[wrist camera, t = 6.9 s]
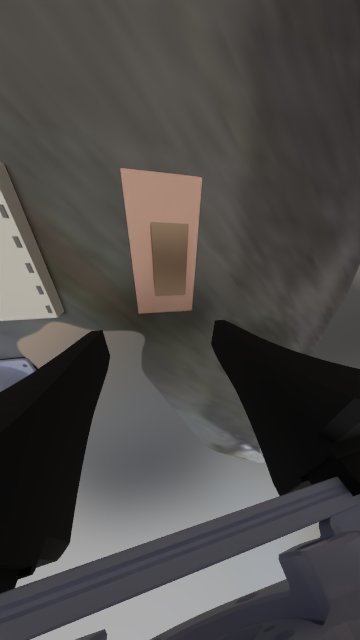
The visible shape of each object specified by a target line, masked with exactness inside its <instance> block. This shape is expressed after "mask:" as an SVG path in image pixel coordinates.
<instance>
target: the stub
mask: <svg viewBox="0 0 360 640" xmlns="http://www.w3.org/2000/svg"><path fill="white" fill-rule="evenodd" d="M120 170H121V178H122V185H123V193H124V201H125V209H126V217H127V225H128V233H129V240H130V248H131V256H132V264H133V272H134V280H135V288H136V295H137V303H138V311H139V314H140V313H157V312H174V311H191V310H192V302H193V289H194V276H195V263H196V250H197V237H198V225H199V212H200V199H201V186H202V177H195V176H186V175H177V174H169V173H160V172H151V171H142V170H133V169H124V168H120Z"/></svg>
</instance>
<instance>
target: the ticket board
mask: <svg viewBox="0 0 360 640" xmlns="http://www.w3.org/2000/svg"><path fill="white" fill-rule="evenodd" d="M63 312H64V309H63V306H62V304H61V301H60V299H59V296H58V294H57V291H56V289H55V287H54V284H53V282H52V279H51V277H50V274H49V272H48V270H47V267H46V265H45V262H44V260H43V257H42V255H41V252H40V250H39V248H38V245H37V243H36V240H35V238H34V235H33V233H32V231H31V228H30V226H29V223H28V221H27V218H26V216H25V214H24V211H23V209H22V206H21V204H20V201H19V199H18V196H17V194H16V192H15V189H14V187H13V184H12V182H11V179H10V177H9V175H8V172H7V170H6V167H5V165H4V164H3V163H1V162H0V321H6V320H23V319H41V318H58V317H59V316H60V315H61V314H62V313H63Z"/></svg>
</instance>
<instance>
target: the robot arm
mask: <svg viewBox="0 0 360 640" xmlns="http://www.w3.org/2000/svg"><path fill="white" fill-rule="evenodd" d="M211 345H212V347H213V350H214V352H215V355H216V357H217V359H218V360H219V362H220V364H221V366H222V367H223V369H224V371H225V372H226V374H227V376H228V377H229V379H230V381H231V382H232V384H233V386H234V388H235V390H236V392H237V394H238V396H239V398H240V400H241V402H242V405H243V407H244V409H245V411H246V414H247V416H248V418H249V421H250V423H251V425H252V428H253V430H254V433H255V435H256V438H257V440H258V443H259V445H260V448H261V451H262V453H263V456H264V459H265V462H266V464H267V467H268V470H269V473H270V475H271V478H272V481H273V483H274V486H275V487H276V489H277V491H278V493H279V495H280V496H279V497H277V498H274V499H271V500H268V501H265V502H262V503H259V504H256V505H253V506H251V507H248V508H245V509H242V510H239V511H236V512H233V513H231V514H227V515H225V516H222V517H219V518H216V519H213V520H211V521H207V522H205V523H202V524H199V525H196V526H193V527H190V528H187V529H184V530H181V531H179V532H176V533H173V534H170V535H167V536H164V537H161V538H158V539H156V540H153V541H150V542H147V543H144V544H141V545H138V546H135V547H133V548H130V549H127V550H125V551H121V552H119V553H115V554H112V555H110V556H107V557H104V558H101V559H98V560H95V561H92V562H89V563H87V564H84V565H81V566H78V567H75V568H72V569H69V570H66V571H64V572H61V573H58V574H55V575H52V576H50V577H46V578H44V579H41V580H38V581H35V582H32V583H29V584H26V585H23V586H20V587H17V588H15V586H16V583H17V580H18V579H21V578H24V577H27V576H30V575H32V574H33V572H34V571H35V569H36V568H37V567H40V566H43V565H46V564H49V563H52V562H55V561H57V560H58V559H59V558H60V557H61V555H62V554H63V552H64V551H65V550H66V548H67V546H68V545H69V543H70V538H71V531H72V524H73V517H74V511H75V505H76V498H77V493H78V486H79V481H80V476H81V470H82V464H83V460H84V454H85V450H86V445H87V439H88V435H89V431H90V426H91V422H92V418H93V414H94V411H95V407H96V404H97V401H98V398H99V395H100V392H101V389H102V386H103V383H104V380H105V376H106V373H107V370H108V365H109V359H110V354H109V351H108V347H107V344H106V341H105V337H104V334H103V331H102V330H100V331H91V332H89V333H88V334H86V335H85V336H84V337H82V338H81V339H80V340H78V341H77V342H76V343H74V344H73V345H72V346H70V347H69V348H68V349H66V350H65V351H64V352H62V353H61V354H59V355H58V356H56V357H55V358H54V359H52V360H51V361H49V362H48V363H47V364H45V365H43V366H42V367H40V368H39V369H37V370H36V369H35V368H34V366H33V365H32V363H31V362H30V360H29V359H27V358H19V359H8V360H0V640H30V639H32V638H35V637H37V636H40V635H42V634H45V633H47V632H50V631H52V630H54V629H57V628H59V627H62V626H64V625H66V624H69V623H72V622H74V621H76V620H79V619H81V618H84V617H86V616H89V615H91V614H94V613H96V612H99V611H101V610H104V609H106V608H108V607H111V606H113V605H116V604H118V603H121V602H123V601H126V600H128V599H131V598H133V597H135V596H138V595H140V594H143V593H145V592H148V591H150V590H153V589H155V588H158V587H160V586H162V585H165V584H167V583H170V582H172V581H175V580H177V579H180V578H182V577H185V576H187V575H189V574H192V573H194V572H197V571H199V570H202V569H204V568H207V567H209V566H212V565H214V564H217V563H219V562H221V561H224V560H226V559H229V558H231V557H234V556H236V555H239V554H241V553H244V552H246V551H248V550H251V549H253V548H255V547H258V546H261V545H263V544H265V543H268V542H271V541H273V540H275V539H278V538H280V537H283V536H285V535H288V534H290V533H293V532H295V531H297V530H300V529H302V528H305V527H307V526H310V525H312V524H314V523H317V522H319V529H320V534H321V536H320V538H318V539H314V540H311V541H308V542H304V543H302V544H299V545H297V546H294V547H292V548H290V549H289V550H287V551H285V552H283V553H281V554H279V561H280V564H281V566H282V568H283V571H284V573H285V576H286V578H287V579H286V580H283V581H281V582H278V583H276V584H273V585H270V586H268V587H265V588H263V589H261V590H258V591H256V592H253V593H251V594H248V595H245V596H243V597H240V598H238V599H235V600H233V601H230V602H228V603H225V604H223V605H220V606H218V607H216V608H214V609H211V610H209V611H207V612H205V613H202V614H200V615H198V616H196V617H194V618H191V619H189V620H187V621H185V622H183V623H181V624H179V625H177V626H175V627H173V628H171V629H169V630H167V631H166V632H164V633H162V634H160V635H158V636H156V637H154V638H152V639H151V640H360V369H357V368H352V367H348V366H344V365H340V364H336V363H332V362H328V361H325V360H321V359H318V358H314V357H311V356H308V355H305V354H301V353H298V352H295V351H292V350H290V349H287V348H284V347H282V346H279V345H276V344H274V343H271V342H269V341H267V340H265V339H262V338H260V337H258V336H256V335H254V334H252V333H250V332H248V331H246V330H244V329H242V328H240V327H238V326H236V325H234V324H232V323H230V322H227V321H225V320H216V321H215V324H214V330H213V336H212V342H211ZM14 588H15V589H14ZM106 639H107V633H106V631H105V629H104V630H101V631H98V632H96V633H93V634H90V635H87V636H84V637H81V638H78V639H76V640H106Z"/></svg>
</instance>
